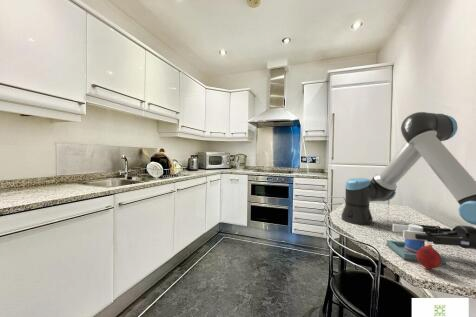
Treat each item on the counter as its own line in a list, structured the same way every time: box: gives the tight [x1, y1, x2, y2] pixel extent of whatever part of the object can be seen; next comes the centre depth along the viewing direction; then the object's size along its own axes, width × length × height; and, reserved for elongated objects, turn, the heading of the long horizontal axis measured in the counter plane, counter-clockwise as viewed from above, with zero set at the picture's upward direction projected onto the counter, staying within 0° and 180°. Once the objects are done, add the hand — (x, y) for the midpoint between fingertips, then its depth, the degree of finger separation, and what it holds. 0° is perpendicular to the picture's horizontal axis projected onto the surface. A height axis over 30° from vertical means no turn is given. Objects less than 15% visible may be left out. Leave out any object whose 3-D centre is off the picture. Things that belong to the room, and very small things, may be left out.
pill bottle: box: [404, 223, 426, 254], centre depth 74 cm, size 6×5×10 cm
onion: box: [416, 243, 442, 271], centre depth 64 cm, size 6×6×8 cm
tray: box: [386, 239, 447, 266], centre depth 75 cm, size 12×12×2 cm
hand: (398, 230), depth 76 cm, fingers open, 6 cm apart
